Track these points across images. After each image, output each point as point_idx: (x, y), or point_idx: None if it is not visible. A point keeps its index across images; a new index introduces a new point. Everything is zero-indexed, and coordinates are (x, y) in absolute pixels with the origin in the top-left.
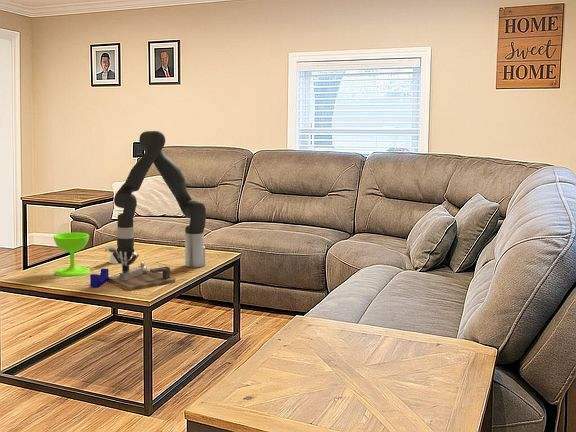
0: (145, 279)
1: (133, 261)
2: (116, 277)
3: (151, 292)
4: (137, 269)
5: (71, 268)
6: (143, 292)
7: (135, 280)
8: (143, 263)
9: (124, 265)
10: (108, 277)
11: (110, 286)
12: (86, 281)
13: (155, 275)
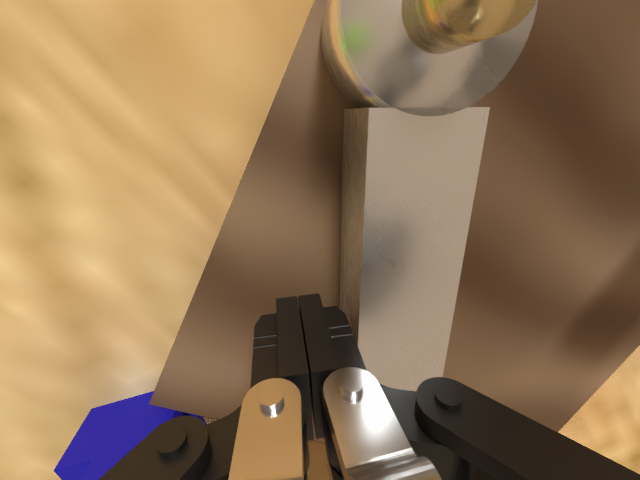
0: (548, 283)
1: (519, 440)
2: (234, 366)
3: (637, 419)
4: (456, 252)
5: None
6: (589, 441)
7: (471, 352)
8: (529, 4)
9: (307, 431)
10: (174, 416)
11: (315, 462)
12: (24, 474)
13: (608, 78)
